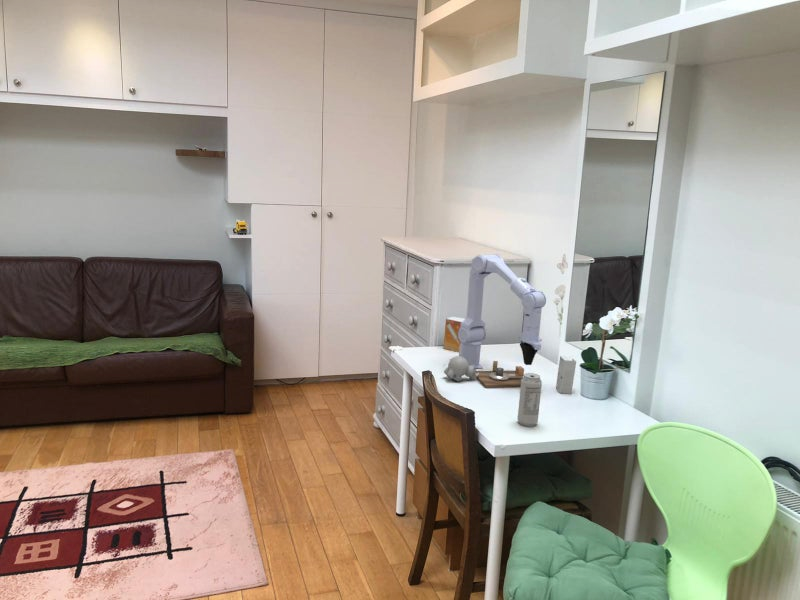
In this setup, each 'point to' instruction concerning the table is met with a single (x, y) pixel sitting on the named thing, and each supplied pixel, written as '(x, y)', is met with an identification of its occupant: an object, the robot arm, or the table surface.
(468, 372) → the chubby cartoon animal
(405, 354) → the table surface
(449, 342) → the small box
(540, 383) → the energy drink can
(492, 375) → the dial plate
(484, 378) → the walnut board
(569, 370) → the skincare box
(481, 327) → the robot arm
